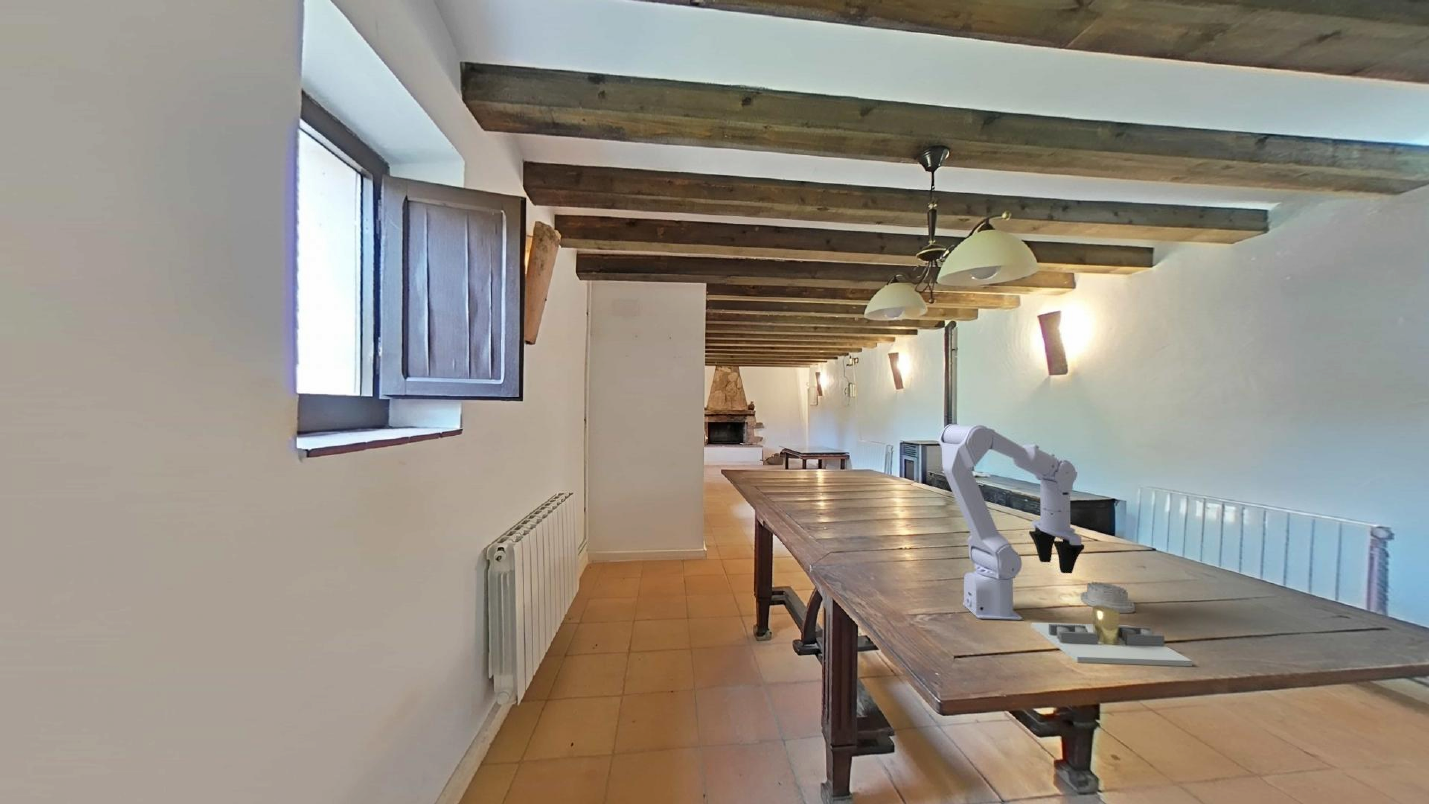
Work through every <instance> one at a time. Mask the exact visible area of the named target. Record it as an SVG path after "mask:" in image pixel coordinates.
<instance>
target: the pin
mask: <svg viewBox="0 0 1429 804" xmlns="http://www.w3.org/2000/svg"><path fill="white" fill-rule="evenodd" d="M1092 624H1093V633H1097V634H1098V642H1101V643H1103V644H1107V645H1118V644H1119V625H1120V613H1119V612H1118V611H1117V610H1115V609H1113V608H1110V607H1106V606H1099V605H1096V606H1093V607H1092Z"/></svg>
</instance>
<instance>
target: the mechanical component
mask: <svg viewBox="0 0 1429 804" xmlns="http://www.w3.org/2000/svg"><path fill="white" fill-rule="evenodd" d="M1128 597H1129V594H1128V591H1127V589H1125V588H1124V587H1121V586H1117V585H1115V584H1112V583H1105V582H1098V581H1095V582H1094V581H1091V583H1090V582H1088V583H1087V585H1086V591H1083V592H1081V593H1080V600H1081V602H1083V603H1085V605H1088V606H1090V607H1092V608H1093V606H1096V605H1099V606H1106V607H1110V608H1113V609H1115V610H1117V611H1118V612H1119V614H1129V613H1133V612H1135V611H1136V606H1135V602H1132V601H1131V600H1130V599H1129V598H1128Z"/></svg>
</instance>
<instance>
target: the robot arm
mask: <svg viewBox="0 0 1429 804" xmlns="http://www.w3.org/2000/svg"><path fill="white" fill-rule="evenodd" d="M937 441H938V443H939V446H940V448H941V459H942V460H941V462H942V466H941V467H942V471H943V474H944V476H945V478H946V481H947V483H948V484H949V488H950V489H951V492H952V494H953V496H954V499H955V501H956V503H957V505H958V507H959V510H960V512H961V514H962V517H963V519H964V521H965V523H966V526H967V528H968V531H969V533H970V536H969V537H968V538H967V539H966V543H967V545H968V556H969V557H968V558H969V559H970V561H971V562H972V563H973V564H974V569H975V570H974V571H973V572H967V573H965V575H964V577H963V602H962V605H963V606H964V607H965V608H966V609H967V610H969V611H970V613H972V614H973V615H974V616H975V617H976V618H978V619H984V620H985V619H988V620H1013V621H1020V620H1021V621H1022V619H1023V617H1022V616H1021V615H1020V614H1018V613H1016V612H1015V611H1014V600H1013V599H1014V579H1016V576H1017V575H1018V574H1019V573H1020V571H1021V569H1022V565H1023V561H1022V558H1021V555H1020V554H1019V552H1017V551H1016V550H1015V549H1014V547H1013V546H1012V544H1011V542H1010V541H1009V540H1008V539H1006V538H1005V536H1004V535H1002V534H1001V533H1000V532H999V530H998V528H997V526H996V523H995V522H994V519H993V517H992V515H991V512H990V510H989V507H988V505H987V503H986V500H985V498H984V496H983V494H982V491H981V489H980V487H979V484H978V482H977V480H976V478H975V476H974V473H973V468H974V467H976V466H977V465H978V464H979V462H980V461H981V459H983V458H984V456H985V455H986V454H987V453H988V451H989V450H991V451H994V452H997V453H999V454H1001V455H1004V456H1006V457H1009V458H1010V459H1012V461H1013V463H1014V465H1015V466H1016V467H1018V468H1020V469H1022V470H1023V471H1025V472H1028V473H1030V474H1033V475H1034V477H1035V478H1036V479H1037V480H1038V481H1039V482H1040V484H1039V485H1040V520H1032V523H1031V525H1032V526H1031V527H1032V529H1033V530H1030V531H1029V532H1028V534H1029V536H1030V538H1031V539H1032V541H1033V544H1034V545H1035V549H1036V552H1037V556H1038V560H1039V562H1041V563H1051V561H1052V555H1053V554H1052V553H1053V547H1055V550H1056V553H1057V555H1058V557H1057V558H1058V564H1059V567H1058V568H1059V570H1060V573H1061V574H1073V571H1074V568H1075V565H1076V562H1077V560H1078V557H1079V556H1080V554H1081V553H1082V552H1083V550H1085V544H1082V536H1081V535H1079V534H1077V533H1076V529H1075V528H1074V527H1073V528H1072V527H1071V492H1072V491H1073V490H1074V487H1073V486H1074V483H1075V481H1076V479H1077V477H1078V472H1077V471H1076V468H1075V465H1073V463H1071V462H1070V461H1069V460H1067V459H1060V458H1059V459H1058V458H1057V457H1055V454H1054V453H1050V452H1048V453H1047V452H1045V451H1043V450H1041V449H1040V446H1039V445H1037V444H1032V443H1031V444H1024V445H1019V444H1017V443H1016V442H1014V441H1013V440H1011V439H1008V438H1007V437H1006V436H1003V435H1002V434H1001V433H1000V434H999V433H998V432H996V431H995V429H993V428H989V427H987V426H984V425H981V424H977V425H971V424H970V425H969V424H958V423H950V424H948V425H946V426H945V427H944V428H943V429H942V431H941V433H940V436H939V437H938V440H937ZM1056 538H1057V539H1060V540H1062V541H1060V540H1059V541H1058V540H1056Z"/></svg>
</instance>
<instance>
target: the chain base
mask: <svg viewBox="0 0 1429 804" xmlns="http://www.w3.org/2000/svg"><path fill="white" fill-rule="evenodd" d="M1030 627H1031V628H1032V629H1033V630H1034V629H1035V630H1034V631H1036V633H1038V632H1039V633H1038V634H1039V635H1040V636H1042V635H1043V636H1042V637H1044V638H1045V639H1046V640H1047V641H1048V642H1050V643H1052V644H1053V645H1054V646H1055V647H1057V649H1058V650H1060V651H1062V652H1063V653H1064V654H1066V655H1067V656H1068V657H1070V658H1071V659H1072V660H1074V661H1075V662H1076V663H1082V664H1083V663H1086V664H1116V665H1117V664H1118V665H1119V664H1120V665H1139V666H1140V665H1141V666H1143V665H1144V666H1145V665H1146V666H1147V665H1148V666H1175V667H1193V661H1192V660H1191V659H1189V658H1188V657H1186V656H1184V655H1183V654H1180V653H1179V652H1177V651H1175V650H1173V649H1172V648H1170V647H1168V646H1166V645H1165V636H1164V635H1162V634H1156V633H1155V632H1154V631H1153V630H1151V628H1150V627H1148V626H1131V625H1127V624H1119V644H1118V645H1107V644H1103V643H1101V642H1098V634H1097V633H1093V623H1090V624H1089V623H1063V622H1062V623H1061V622H1030Z"/></svg>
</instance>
